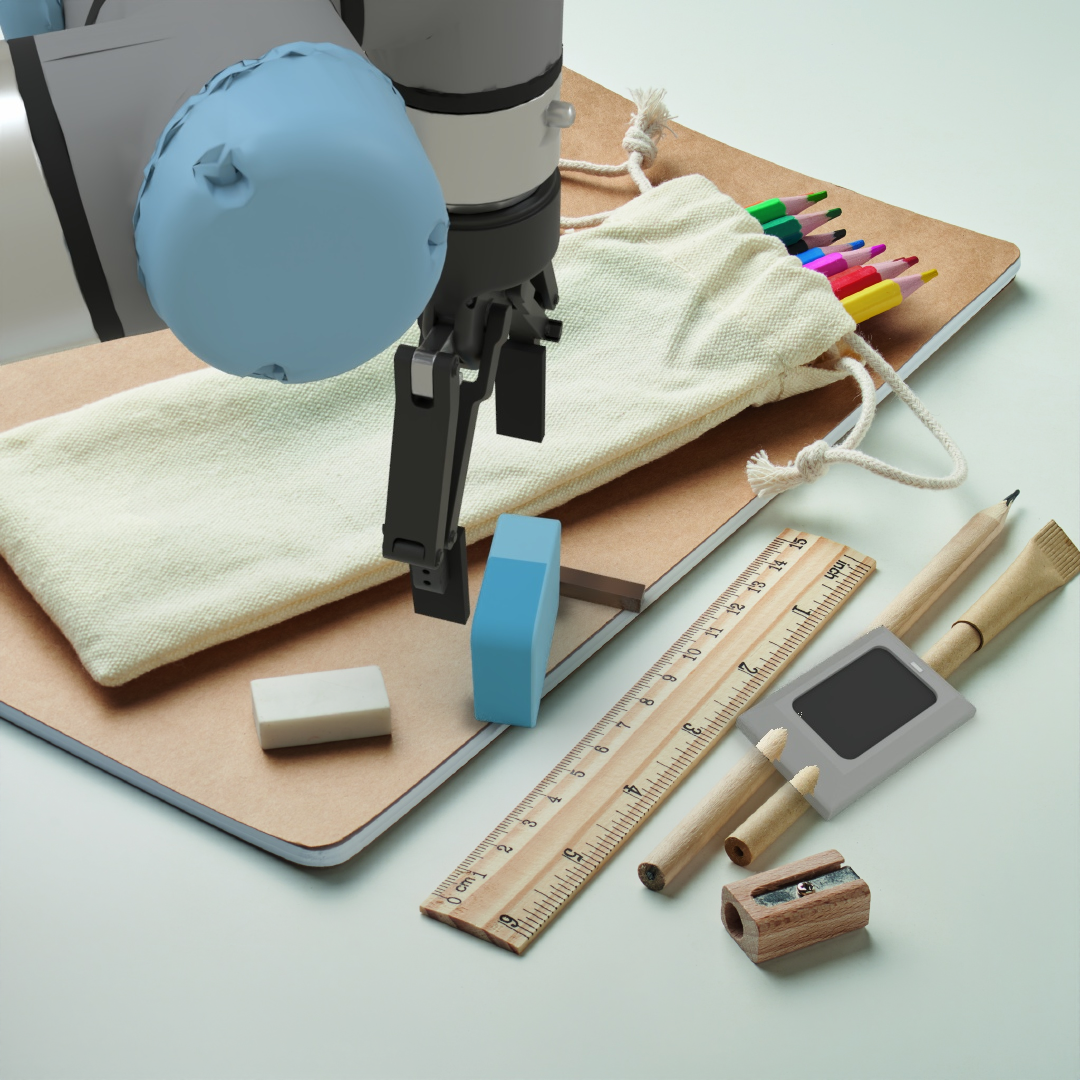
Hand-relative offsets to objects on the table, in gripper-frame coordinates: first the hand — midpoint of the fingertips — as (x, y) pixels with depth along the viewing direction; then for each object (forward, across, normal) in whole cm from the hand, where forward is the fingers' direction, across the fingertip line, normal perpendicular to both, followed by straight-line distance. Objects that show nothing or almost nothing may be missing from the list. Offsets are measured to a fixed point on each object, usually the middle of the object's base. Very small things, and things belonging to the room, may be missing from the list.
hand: (484, 518), depth 65 cm
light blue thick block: (+29, +10, +2) cm, 31 cm away
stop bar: (+29, +18, -2) cm, 34 cm away
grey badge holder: (+29, +12, -24) cm, 39 cm away
